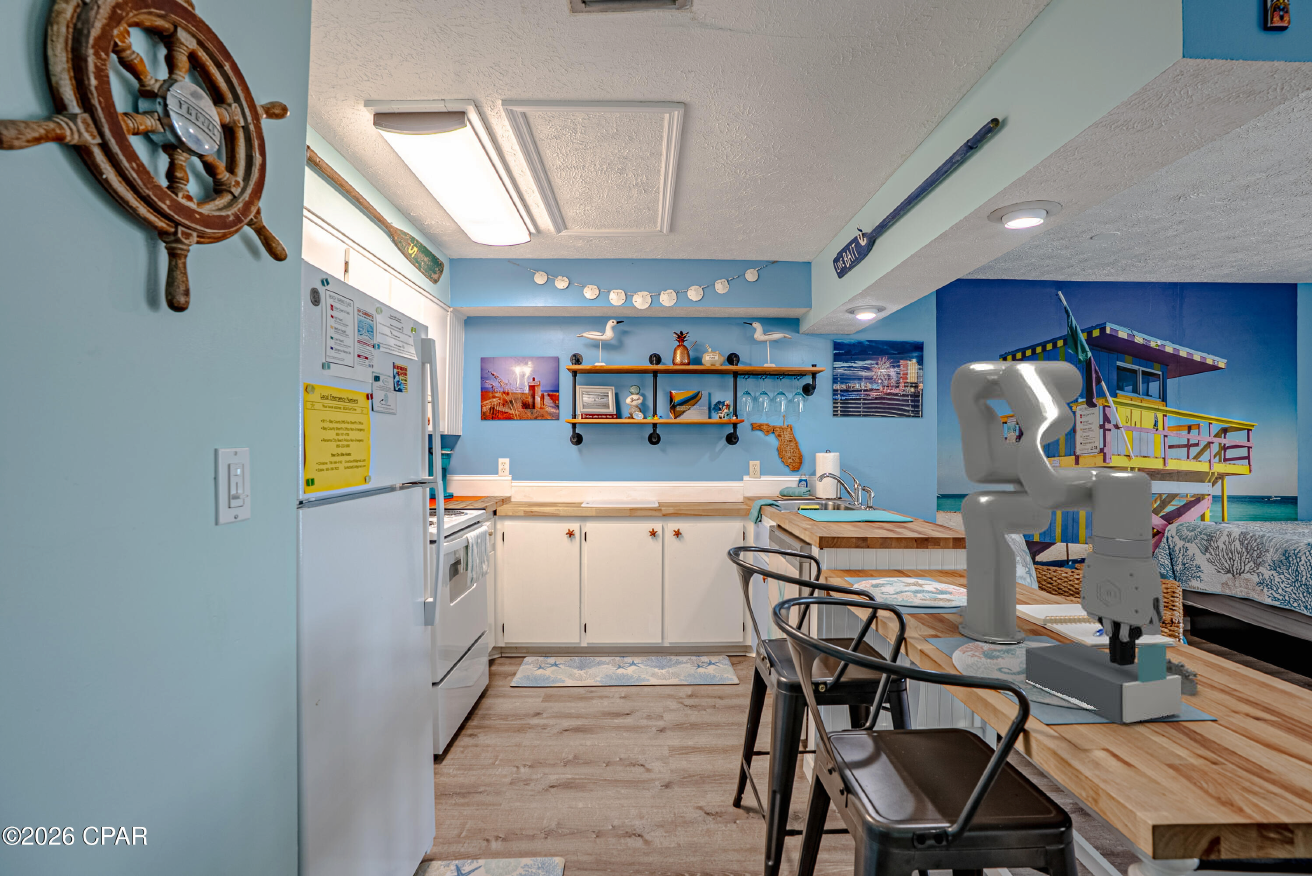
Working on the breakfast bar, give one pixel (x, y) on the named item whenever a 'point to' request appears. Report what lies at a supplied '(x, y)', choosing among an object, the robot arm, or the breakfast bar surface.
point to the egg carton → (1182, 676)
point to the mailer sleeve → (1082, 675)
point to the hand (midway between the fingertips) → (1122, 662)
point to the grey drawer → (1151, 688)
